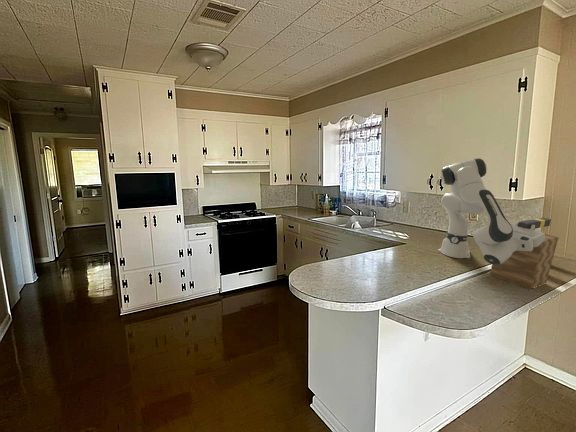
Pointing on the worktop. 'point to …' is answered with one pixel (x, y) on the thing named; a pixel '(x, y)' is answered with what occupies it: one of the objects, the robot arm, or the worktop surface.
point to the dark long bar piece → (535, 223)
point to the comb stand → (528, 265)
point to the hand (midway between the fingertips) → (527, 224)
